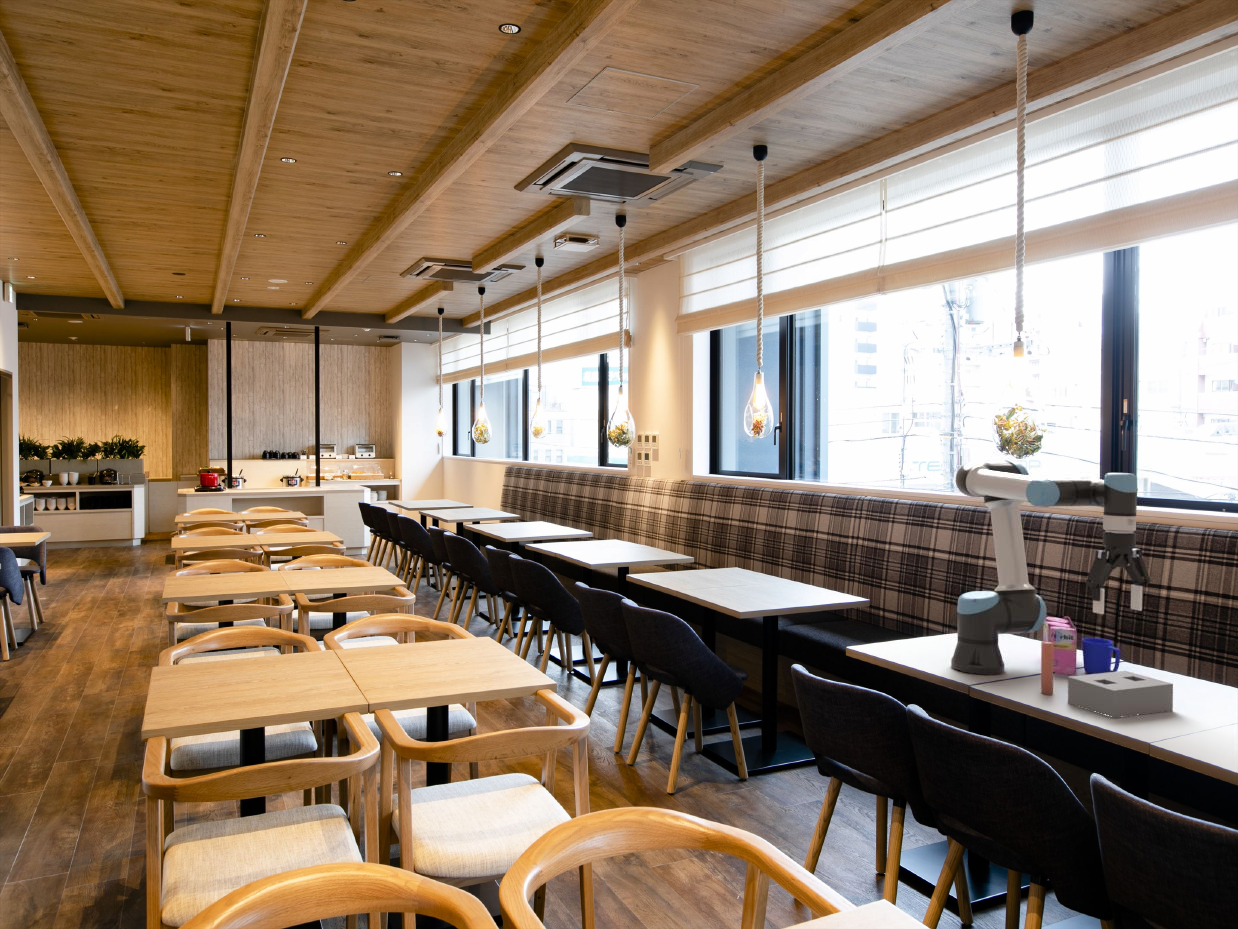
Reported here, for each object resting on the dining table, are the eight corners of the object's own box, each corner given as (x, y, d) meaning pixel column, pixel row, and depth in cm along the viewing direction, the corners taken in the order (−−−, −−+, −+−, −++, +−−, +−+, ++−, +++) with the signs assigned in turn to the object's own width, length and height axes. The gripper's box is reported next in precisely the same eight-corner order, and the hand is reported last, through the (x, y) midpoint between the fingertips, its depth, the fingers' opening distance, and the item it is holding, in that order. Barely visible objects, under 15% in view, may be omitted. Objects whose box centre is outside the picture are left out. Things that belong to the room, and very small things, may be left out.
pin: (1038, 692, 238) (1038, 642, 238) (1047, 691, 239) (1047, 641, 239) (1047, 695, 236) (1047, 644, 235) (1055, 694, 237) (1056, 643, 236)
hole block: (1113, 718, 215) (1113, 690, 215) (1067, 703, 228) (1068, 676, 228) (1172, 710, 221) (1172, 683, 221) (1125, 696, 235) (1125, 670, 235)
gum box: (1042, 655, 283) (1042, 614, 282) (1069, 657, 280) (1069, 616, 279) (1047, 672, 261) (1048, 627, 260) (1077, 675, 257) (1077, 629, 257)
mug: (1107, 681, 250) (1107, 647, 250) (1075, 671, 262) (1075, 638, 261) (1130, 679, 252) (1130, 645, 252) (1097, 669, 264) (1097, 637, 264)
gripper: (1096, 534, 219) (1094, 617, 219) (1166, 531, 227) (1164, 611, 228) (1071, 531, 226) (1069, 611, 226) (1140, 528, 234) (1138, 605, 235)
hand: (1117, 611), depth 227 cm, fingers open, 13 cm apart
